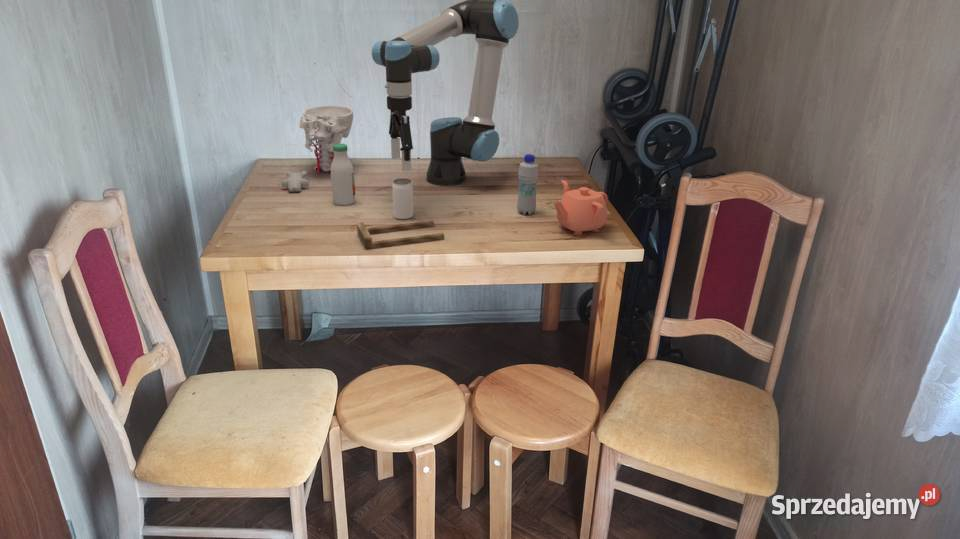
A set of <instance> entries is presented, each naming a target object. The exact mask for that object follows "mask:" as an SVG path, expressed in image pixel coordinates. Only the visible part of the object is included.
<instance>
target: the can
mask: <svg viewBox="0 0 960 539" xmlns="http://www.w3.org/2000/svg"><path fill="white" fill-rule="evenodd" d="M391 187H392V209H393V210H392V211H393V218H395V219H397V220H409V219H412V218H413V216H414V190H413V189H414V188H413V183H412V180H410V179H408V178H396V179H394V180H393V182H392V186H391Z"/></svg>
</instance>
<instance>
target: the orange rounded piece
mask: <svg viewBox="0 0 960 539" xmlns="http://www.w3.org/2000/svg"><path fill="white" fill-rule="evenodd" d="M560 181H561V183H562V187H563V194H562V197H561V199H560V200H559V199H557V200H554V201H553V204H554V207H555V210H556V211H555V212H556V219H557V220H558V223H559V224H560V225H561V228H563V229H568V230H570V231H573V235H575V236H579V237H580V236H582V235H583V232H589V231H591V232H594V233H598V232H600V228H603V226H604V225H606V223H607V220H608V209H607V202H608V195H607V194H606V192H603V191H596V190H593V189H592V188H588V187H586V186H582V187H579V188H578V189H571V188H570V185H569V184H568V182H567V181H566V180H564V179H560Z"/></svg>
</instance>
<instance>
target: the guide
mask: <svg viewBox="0 0 960 539" xmlns="http://www.w3.org/2000/svg"><path fill="white" fill-rule="evenodd" d="M433 227H435V221H434V220H426V221H419V222H410V223H399V224H392V225H385V226H384V225H382V226H376V227H368V228H367V227H366V225H365V223H364V222H357V223H356V230H357V236H358V238H359V239H360V242H361V245H363V247H364V249H366V250H371V249H380V248H387V247H395V246H403V245H412V244H418V243H426V242H435V241H441V240H445V234H444V233H443V232H440V233H432V234H431V233H430V234H424V235H415V236H407V237H400V238H392V239H384V240H377V241H373V239H372V236H371V235H375V234H377V235H378V234H383V233H384V234H385V233H391V232H400V231H401V232H402V231H408V230H411V231H412V230H417V229H425V228H433Z"/></svg>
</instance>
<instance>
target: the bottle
mask: <svg viewBox="0 0 960 539" xmlns="http://www.w3.org/2000/svg"><path fill="white" fill-rule="evenodd" d="M535 158H536V157H535V155H534V154H531V153H529V154H528V153H527V154H525V155H524V159H523V161H522V162H520V163H519V167H518V171H517V173H518V177H517V179H518V191H517V192H518V194H517V195H518V196H517V202H516V203H517V204H516V206H517V207H516V209H517V212H518V213H519V214H523V215H526V214H528V216H529V215H531V214H534V213H535V212H536V210H537V209H536V207H537V189H538V188H537V186H538V184H537V182H538V179H539V175H540V174H539V164H538V163H537V162H535Z"/></svg>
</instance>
